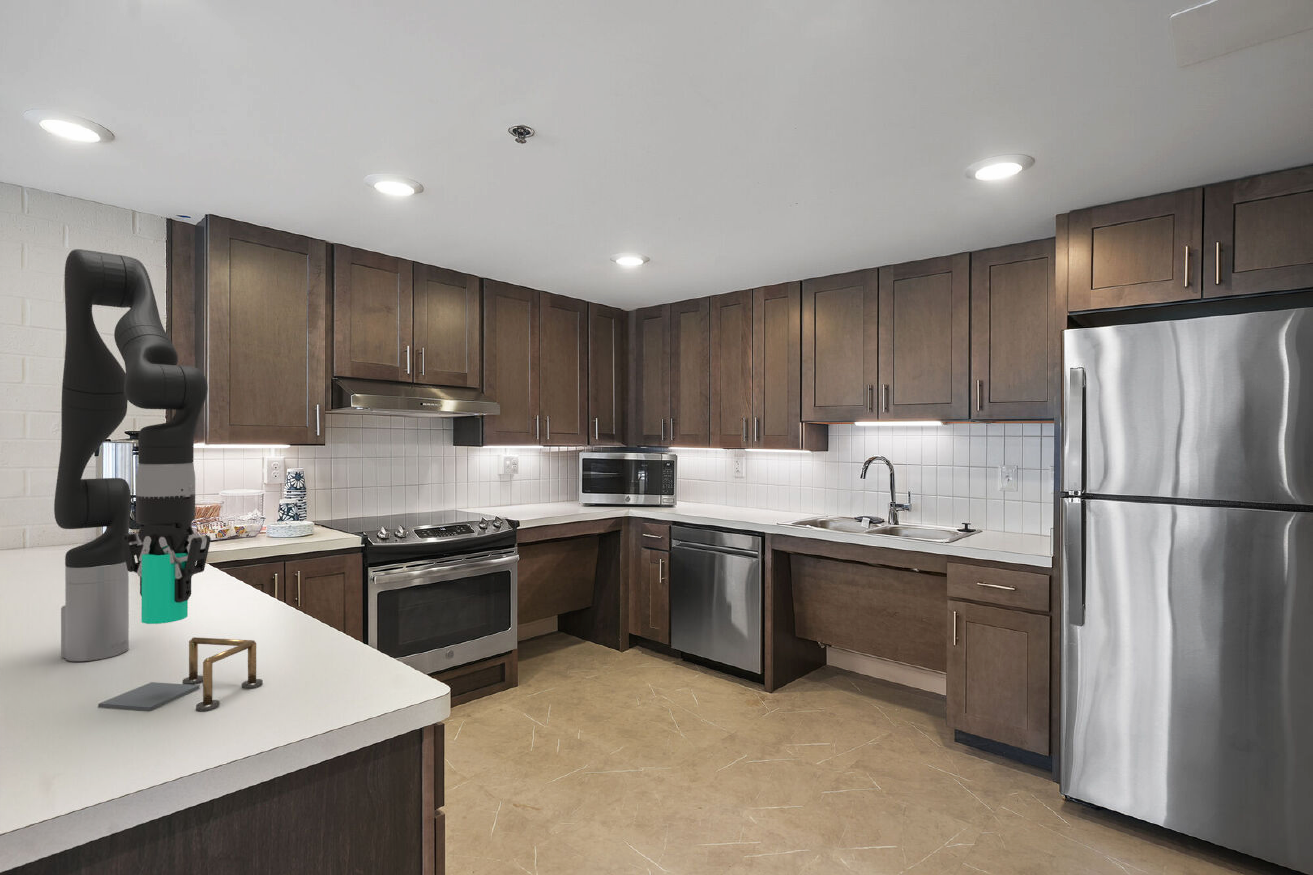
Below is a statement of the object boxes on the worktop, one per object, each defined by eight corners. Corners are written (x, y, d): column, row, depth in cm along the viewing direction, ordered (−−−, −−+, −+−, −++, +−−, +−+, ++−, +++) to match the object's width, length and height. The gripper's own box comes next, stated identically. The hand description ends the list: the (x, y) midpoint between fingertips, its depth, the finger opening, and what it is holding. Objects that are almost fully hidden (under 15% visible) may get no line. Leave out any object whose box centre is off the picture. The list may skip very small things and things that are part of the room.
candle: (163, 625, 102) (164, 546, 102) (130, 622, 103) (131, 544, 103) (197, 614, 108) (198, 540, 108) (166, 611, 109) (166, 538, 109)
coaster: (98, 707, 102) (98, 703, 102) (151, 685, 111) (151, 682, 111) (150, 711, 101) (149, 707, 101) (199, 688, 110) (199, 685, 110)
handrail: (127, 706, 103) (127, 657, 103) (193, 678, 114) (192, 634, 114) (208, 712, 100) (208, 661, 100) (266, 682, 112) (266, 638, 112)
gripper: (103, 493, 103) (103, 603, 103) (186, 496, 100) (186, 609, 101) (147, 488, 110) (146, 592, 110) (226, 491, 108) (225, 596, 108)
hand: (165, 599), depth 105 cm, fingers closed on candle, 5 cm apart
